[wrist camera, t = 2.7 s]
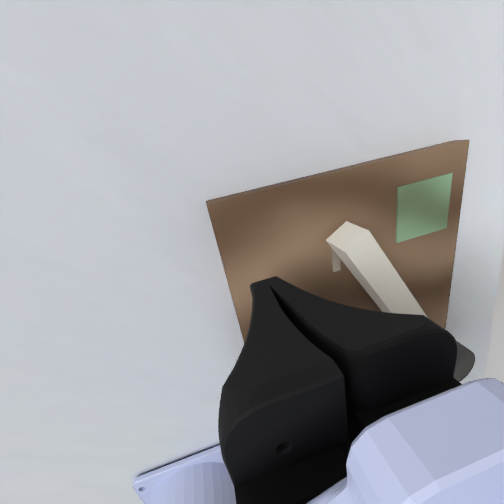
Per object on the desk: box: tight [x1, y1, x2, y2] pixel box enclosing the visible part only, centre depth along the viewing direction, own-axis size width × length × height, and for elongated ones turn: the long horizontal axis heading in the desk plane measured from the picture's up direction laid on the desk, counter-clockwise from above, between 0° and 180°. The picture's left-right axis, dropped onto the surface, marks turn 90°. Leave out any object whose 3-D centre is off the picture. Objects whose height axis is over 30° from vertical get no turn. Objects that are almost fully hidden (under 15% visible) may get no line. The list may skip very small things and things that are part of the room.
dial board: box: [206, 140, 469, 343], centre depth 18 cm, size 18×16×1 cm
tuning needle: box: [326, 221, 475, 382], centre depth 16 cm, size 14×3×3 cm, turn 42°
